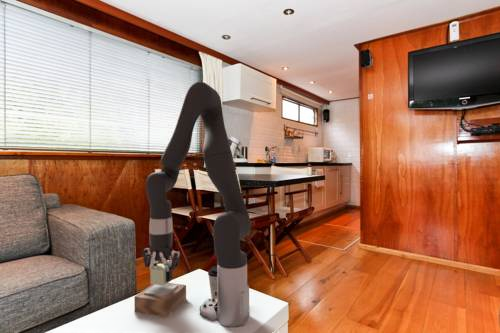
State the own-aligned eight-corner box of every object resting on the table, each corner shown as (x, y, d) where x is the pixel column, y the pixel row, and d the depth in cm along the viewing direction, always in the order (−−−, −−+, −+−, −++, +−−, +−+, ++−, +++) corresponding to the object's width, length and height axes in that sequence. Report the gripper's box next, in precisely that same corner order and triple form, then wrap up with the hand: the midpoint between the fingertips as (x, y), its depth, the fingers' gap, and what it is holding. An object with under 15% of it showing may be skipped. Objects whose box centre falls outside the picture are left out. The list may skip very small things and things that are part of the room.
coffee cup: (217, 303, 94) (217, 274, 94) (203, 296, 99) (203, 269, 98) (231, 295, 100) (231, 268, 99) (217, 289, 104) (217, 263, 104)
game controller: (217, 319, 83) (204, 303, 84) (205, 329, 84) (193, 313, 86) (228, 303, 93) (216, 289, 94) (217, 312, 94) (206, 299, 95)
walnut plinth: (186, 299, 97) (186, 283, 97) (166, 317, 85) (166, 299, 85) (156, 294, 100) (156, 279, 100) (134, 311, 89) (134, 294, 89)
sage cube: (171, 279, 95) (171, 265, 95) (163, 285, 90) (163, 270, 90) (159, 277, 96) (159, 263, 96) (150, 283, 91) (150, 268, 91)
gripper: (185, 229, 94) (185, 278, 95) (150, 226, 98) (150, 273, 99) (173, 235, 87) (173, 288, 87) (135, 231, 91) (136, 282, 91)
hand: (161, 280), depth 93 cm, fingers closed on sage cube, 5 cm apart
